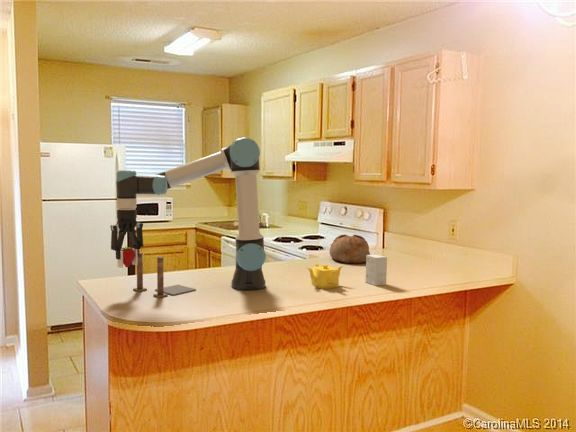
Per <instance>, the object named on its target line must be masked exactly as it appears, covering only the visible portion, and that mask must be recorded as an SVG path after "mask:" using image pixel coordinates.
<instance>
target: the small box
mask: <svg viewBox="0 0 576 432" xmlns="http://www.w3.org/2000/svg"><path fill="white" fill-rule="evenodd" d="M365 264H366V265H365V283H367V284H370V285H372V286H376V287H377V286H384V285H385V286H386V285H387V270H388V257H387V256H383V255H379V254H370V255H366V262H365Z"/></svg>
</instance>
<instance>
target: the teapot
mask: <svg viewBox="0 0 576 432" xmlns="http://www.w3.org/2000/svg"><path fill="white" fill-rule="evenodd" d="M314 265H315V266H313V267H312V268H311V267H310V268H309V267H306V269H307V270H308V271H309V275H310V281H311V284H312V286H314V287H316V288H318V289H322V290H326V289H336V288H338V287H339V282H340V281H339V278H340V276H341V275H340V274H341V270H342V268H343V267H344V265H341V266H340V265H339V266H338V267H337V268H335V267H332V266H329V264H322V266H321V265H319V263H318V262H315V263H314Z"/></svg>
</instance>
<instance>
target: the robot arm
mask: <svg viewBox="0 0 576 432" xmlns="http://www.w3.org/2000/svg"><path fill="white" fill-rule="evenodd" d="M260 155H261V151H260V147H259V145H258V143H257V141H255V140H254V139H252V138H249V137H247V136H246V137H244V136H243V137H239V138H237V139H235V140H234V141H233V142H232V143H231V144H229V145H227V146H226V147H223V148H221V150H220V151H219V152H216V153H213V154H210V155H207V156H205V157H201V158H198V159H196V160H193V161H191V162H188V163H185V164H181V165H179V166H176V167H173V168H170V169H168V170H165V171H163V172H160V173H155V174H153V175H138V174H137V172H136V170H127V169H126V170H123V169H120V170H118V171H117V172H116V179H115V180H116V181H115V184H116V185H115V186H116V208H117V210H116V219H117V222H116V224H112V225H110V226H109V227H110V231H111V235H110V237H111V238H110V249H111V251H114V252H115V259H116V260H117V268H121V269H122V268H123V269H124V264H123V251H121V250H122V248H123V244H124V241H125V240H124V239H125V236H126V235H127V233H128V234H129V237H130V240H131V243H132V248H133V249H131V250H133V251H134V253H135V256H134V259H133V261H132V263H131V265H133V266H137V265H138V257H139V253H140V250H141V248H143V247H144V239H143V237H144V236H143V226H144V224H143V222H138V220H137V217H138V216H137V215H138V212H137V211H138V210H137V207H138V206H137V205H138V204H137V195H157V196H160V195H166V194H167V192H168V190H170V189H172V188H175V187H178V186H180V185H183V184H186V183H189V182H192V181H195V180H198V179H200V178H203V177H206V176H209V175H212V174H215V173H218V172H221V171H223V170H225V169H228V170H230V172H231V173H232V174H233V175H234V177H235V190H236V191H235V192H236V207H237V209H236V210H237V225H238V227H237V229H238V234H237V236H235V270H234V274H233V277H232V279H231V288H233V289H236V290H243V291H256V290H261V289H264V288H265V287H266V279H265V277H264V272H263V265H264V263H265V261H266V259H267V255H266V251H265V237H264V235H263V234H261V232H260V217H259V202H258V201H259V199H258V182H257V181H258V180H257V174H258V173H259V172H260V170H261V169H260Z"/></svg>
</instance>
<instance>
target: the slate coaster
mask: <svg viewBox="0 0 576 432" xmlns="http://www.w3.org/2000/svg"><path fill="white" fill-rule="evenodd" d="M154 291H155V292H157V288H155V289H154ZM195 291H197V289H196V288H193V287H188V286H185V285H181V284H174V285H170V286H165V287H164V293H165V294H168V295H169V296H178V295H182V294H186V293H190V292H195Z"/></svg>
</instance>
